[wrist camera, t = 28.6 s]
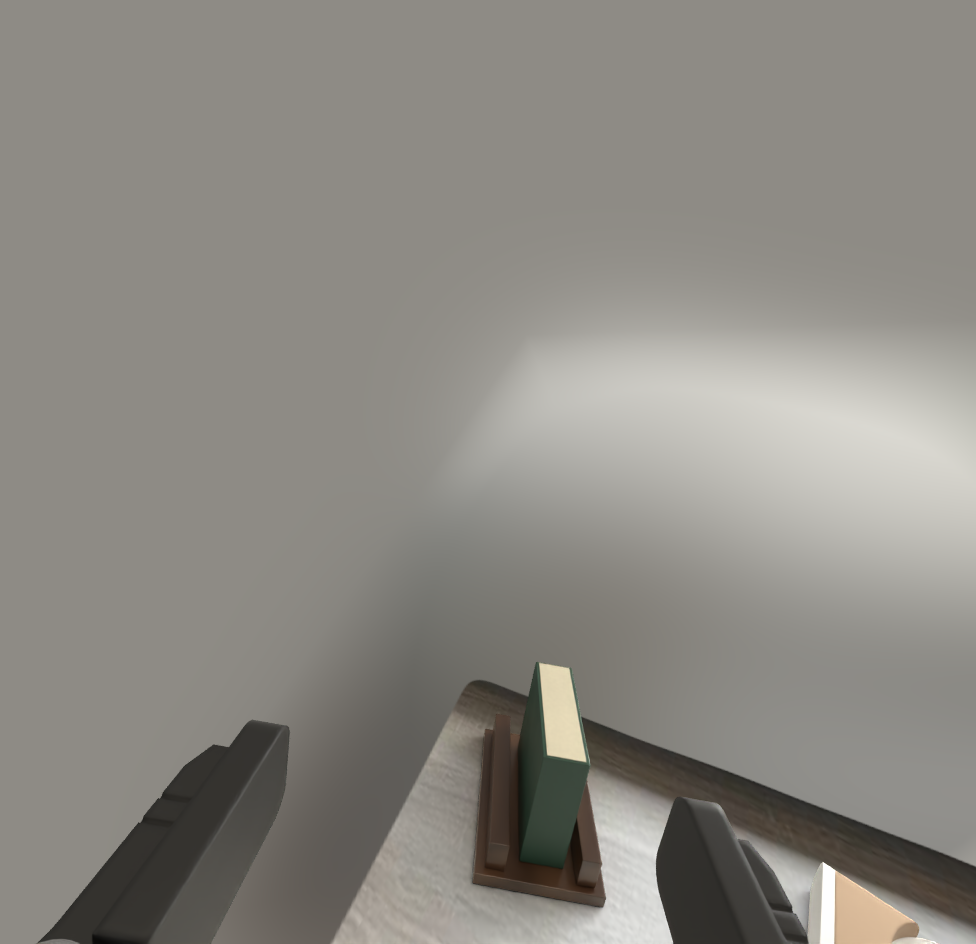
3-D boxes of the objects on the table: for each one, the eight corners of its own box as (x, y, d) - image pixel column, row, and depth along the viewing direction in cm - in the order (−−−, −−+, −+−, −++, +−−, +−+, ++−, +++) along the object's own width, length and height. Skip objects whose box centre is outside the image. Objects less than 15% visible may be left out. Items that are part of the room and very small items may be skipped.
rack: (472, 883, 34) (479, 848, 33) (483, 736, 48) (489, 708, 47) (603, 908, 34) (613, 872, 33) (577, 753, 48) (584, 725, 47)
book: (518, 861, 35) (543, 756, 33) (517, 746, 46) (536, 660, 44) (563, 869, 35) (591, 765, 33) (551, 752, 46) (572, 667, 44)
